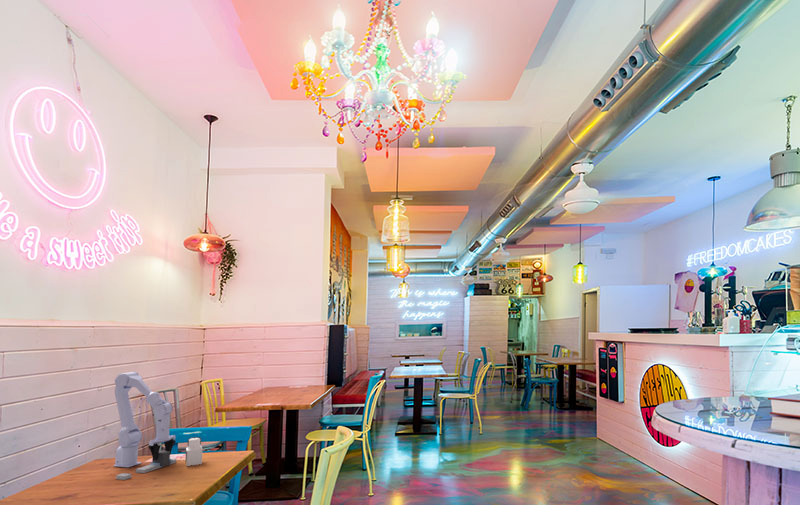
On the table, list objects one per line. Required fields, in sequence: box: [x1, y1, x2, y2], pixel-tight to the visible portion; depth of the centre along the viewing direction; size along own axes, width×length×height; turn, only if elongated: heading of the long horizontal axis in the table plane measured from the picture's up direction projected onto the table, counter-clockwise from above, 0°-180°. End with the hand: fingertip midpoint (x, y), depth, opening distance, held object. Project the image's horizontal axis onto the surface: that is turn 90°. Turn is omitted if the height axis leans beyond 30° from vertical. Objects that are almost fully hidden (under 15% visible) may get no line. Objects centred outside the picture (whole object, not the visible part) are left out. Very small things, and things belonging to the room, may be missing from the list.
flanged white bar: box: [115, 458, 177, 481], centre depth 231 cm, size 5×30×2 cm, turn 161°
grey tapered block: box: [151, 450, 171, 467], centre depth 239 cm, size 7×4×6 cm, turn 71°
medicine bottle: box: [185, 436, 203, 467], centre depth 241 cm, size 7×7×12 cm
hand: (161, 458), depth 239 cm, fingers open, 7 cm apart
